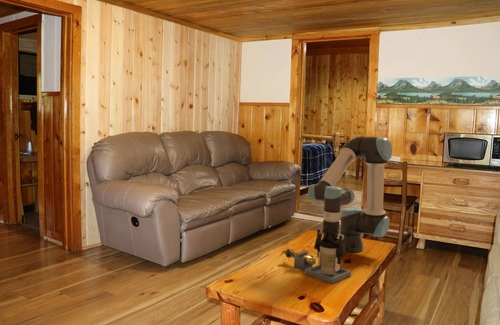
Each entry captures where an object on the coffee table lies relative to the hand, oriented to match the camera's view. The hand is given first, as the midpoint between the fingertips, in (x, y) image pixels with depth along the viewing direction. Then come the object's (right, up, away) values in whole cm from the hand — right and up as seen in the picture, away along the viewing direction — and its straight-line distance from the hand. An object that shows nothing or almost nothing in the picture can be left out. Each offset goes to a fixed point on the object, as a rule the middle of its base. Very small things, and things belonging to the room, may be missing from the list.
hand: (328, 267), depth 190 cm
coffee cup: (0, -3, 0) cm, 3 cm away
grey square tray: (0, -4, 0) cm, 4 cm away
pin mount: (-11, -2, +10) cm, 15 cm away
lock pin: (-12, 0, +11) cm, 16 cm away
